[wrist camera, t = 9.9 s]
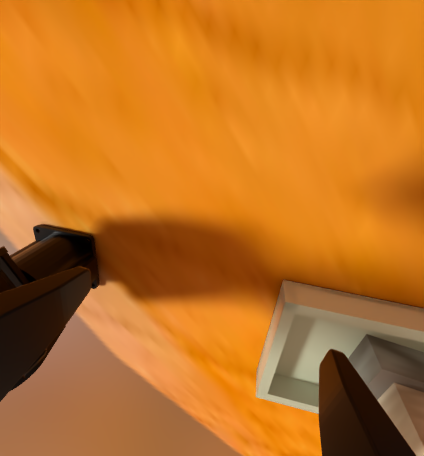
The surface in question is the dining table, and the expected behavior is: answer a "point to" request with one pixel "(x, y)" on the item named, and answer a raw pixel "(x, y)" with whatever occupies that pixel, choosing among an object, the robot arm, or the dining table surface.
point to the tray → (324, 337)
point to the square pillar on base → (395, 384)
